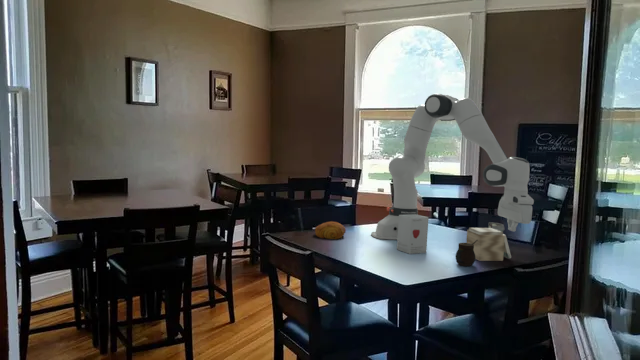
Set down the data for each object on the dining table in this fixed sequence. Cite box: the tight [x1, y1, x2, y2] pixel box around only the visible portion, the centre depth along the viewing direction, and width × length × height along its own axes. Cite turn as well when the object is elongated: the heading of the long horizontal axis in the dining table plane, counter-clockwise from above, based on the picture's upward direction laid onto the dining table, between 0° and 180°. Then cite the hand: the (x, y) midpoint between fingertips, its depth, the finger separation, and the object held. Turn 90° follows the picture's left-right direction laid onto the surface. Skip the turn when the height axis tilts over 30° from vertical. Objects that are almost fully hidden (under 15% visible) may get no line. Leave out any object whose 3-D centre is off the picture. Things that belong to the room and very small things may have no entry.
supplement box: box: [396, 214, 429, 255], centre depth 208 cm, size 9×9×15 cm
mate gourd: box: [455, 240, 478, 267], centre depth 188 cm, size 7×8×10 cm
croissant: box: [314, 220, 347, 240], centre depth 236 cm, size 14×16×8 cm
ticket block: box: [465, 227, 505, 262], centre depth 203 cm, size 10×12×11 cm
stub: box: [503, 233, 512, 259], centre depth 204 cm, size 10×9×1 cm
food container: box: [488, 221, 505, 233], centre depth 227 cm, size 12×6×10 cm, turn 168°
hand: (511, 230), depth 205 cm, fingers closed
